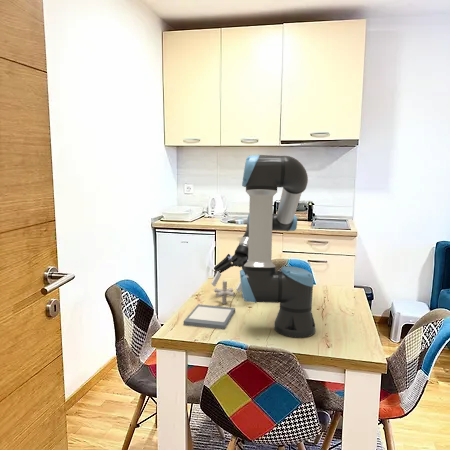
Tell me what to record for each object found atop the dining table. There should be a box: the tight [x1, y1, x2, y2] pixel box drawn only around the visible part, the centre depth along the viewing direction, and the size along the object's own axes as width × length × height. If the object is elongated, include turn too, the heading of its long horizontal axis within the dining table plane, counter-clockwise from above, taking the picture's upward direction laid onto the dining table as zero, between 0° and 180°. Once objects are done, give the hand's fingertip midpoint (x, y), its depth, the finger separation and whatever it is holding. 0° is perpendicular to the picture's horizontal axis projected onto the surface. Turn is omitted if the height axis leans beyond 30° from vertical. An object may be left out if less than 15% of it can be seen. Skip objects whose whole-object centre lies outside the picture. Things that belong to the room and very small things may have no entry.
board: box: [183, 304, 236, 330], centre depth 169 cm, size 20×16×2 cm
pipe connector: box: [213, 280, 236, 305], centre depth 186 cm, size 10×10×10 cm
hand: (225, 287), depth 187 cm, fingers open, 13 cm apart
